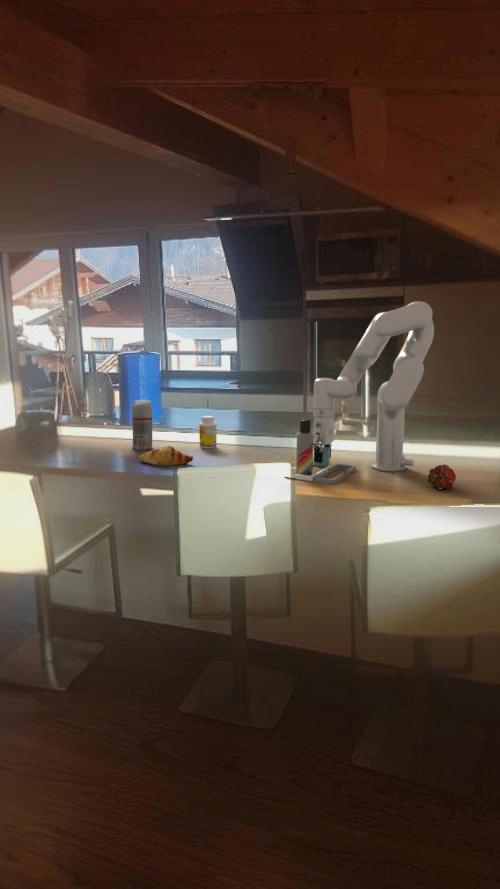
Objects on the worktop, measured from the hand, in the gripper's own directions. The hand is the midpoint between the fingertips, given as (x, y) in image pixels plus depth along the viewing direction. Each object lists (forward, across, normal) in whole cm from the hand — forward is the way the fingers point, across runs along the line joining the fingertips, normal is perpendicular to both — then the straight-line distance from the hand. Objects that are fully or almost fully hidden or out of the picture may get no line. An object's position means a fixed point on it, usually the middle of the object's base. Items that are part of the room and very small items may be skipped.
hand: (322, 459), depth 247 cm
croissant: (+3, -24, +53) cm, 58 cm away
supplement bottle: (+3, +8, +54) cm, 54 cm away
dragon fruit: (+3, -8, -45) cm, 46 cm away
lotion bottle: (+3, -16, 0) cm, 17 cm away
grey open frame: (+2, -10, -9) cm, 14 cm away
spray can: (+3, -8, +76) cm, 76 cm away
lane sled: (+2, -10, 0) cm, 11 cm away
